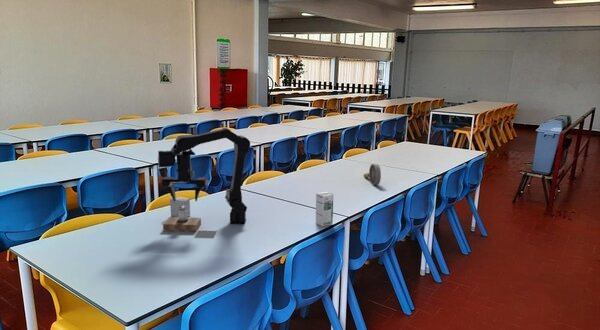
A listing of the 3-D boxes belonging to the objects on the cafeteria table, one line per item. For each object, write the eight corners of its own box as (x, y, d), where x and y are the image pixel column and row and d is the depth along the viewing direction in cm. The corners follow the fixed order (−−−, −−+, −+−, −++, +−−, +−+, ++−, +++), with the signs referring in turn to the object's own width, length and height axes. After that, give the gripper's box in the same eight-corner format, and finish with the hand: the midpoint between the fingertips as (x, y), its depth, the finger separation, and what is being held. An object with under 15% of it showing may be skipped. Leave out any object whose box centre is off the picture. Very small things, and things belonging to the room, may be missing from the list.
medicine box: (190, 215, 207) (190, 198, 205) (185, 218, 202) (185, 200, 201) (175, 213, 209) (175, 196, 207) (170, 216, 205) (169, 199, 203)
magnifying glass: (362, 165, 287) (375, 163, 262) (367, 165, 287) (380, 163, 263) (363, 185, 286) (376, 185, 261) (367, 185, 287) (381, 184, 262)
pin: (188, 227, 192) (187, 205, 190) (185, 230, 189) (185, 208, 186) (179, 226, 192) (178, 205, 190) (177, 230, 189) (176, 208, 186)
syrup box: (322, 226, 197) (323, 196, 194) (314, 222, 202) (316, 192, 198) (332, 224, 200) (334, 194, 197) (324, 220, 205) (326, 190, 202)
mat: (217, 231, 188) (217, 230, 188) (213, 238, 180) (213, 238, 180) (198, 231, 188) (198, 230, 188) (194, 238, 180) (194, 237, 180)
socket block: (200, 225, 195) (200, 217, 194) (196, 232, 186) (196, 225, 185) (169, 224, 195) (169, 216, 194) (163, 231, 186) (162, 224, 185)
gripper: (209, 161, 193) (211, 195, 196) (167, 161, 193) (169, 195, 196) (204, 167, 182) (205, 203, 185) (159, 166, 182) (161, 202, 185)
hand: (185, 200), depth 188 cm, fingers open, 9 cm apart
